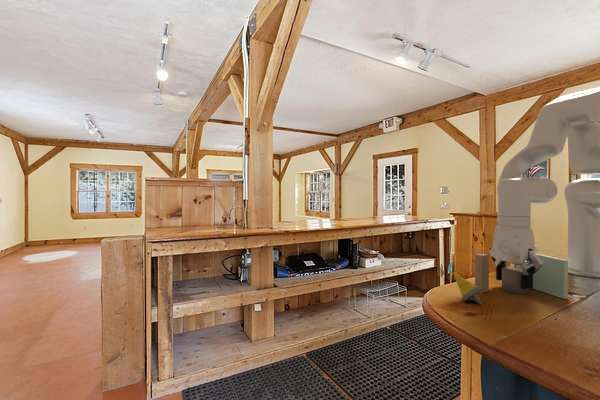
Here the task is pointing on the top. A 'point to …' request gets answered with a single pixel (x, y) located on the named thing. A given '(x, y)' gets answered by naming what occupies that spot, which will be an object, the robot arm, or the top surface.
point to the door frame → (484, 270)
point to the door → (551, 276)
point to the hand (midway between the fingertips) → (513, 283)
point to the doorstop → (512, 280)
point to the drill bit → (467, 288)
